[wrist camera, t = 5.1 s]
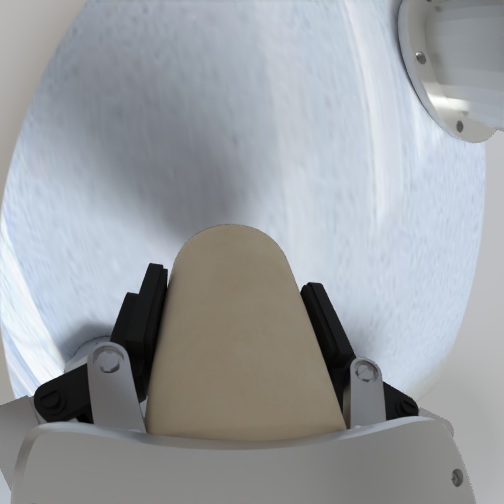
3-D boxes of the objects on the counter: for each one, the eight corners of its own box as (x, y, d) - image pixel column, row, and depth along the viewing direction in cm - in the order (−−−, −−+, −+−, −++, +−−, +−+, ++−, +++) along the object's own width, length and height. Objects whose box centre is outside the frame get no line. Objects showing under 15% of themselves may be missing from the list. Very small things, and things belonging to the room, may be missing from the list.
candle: (212, 198, 11) (206, 490, 2) (310, 260, 13) (399, 466, 4) (154, 287, 13) (117, 496, 4) (244, 329, 15) (267, 508, 6)
